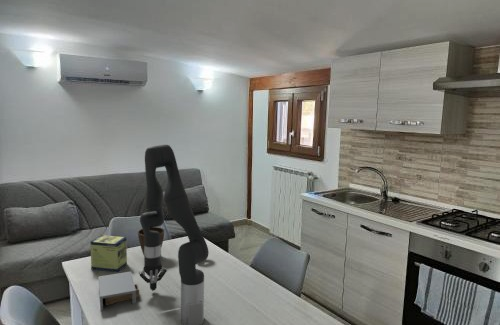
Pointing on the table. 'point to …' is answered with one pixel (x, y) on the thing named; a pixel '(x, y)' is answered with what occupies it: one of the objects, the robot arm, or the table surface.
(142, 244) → the plant pot
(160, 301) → the table surface
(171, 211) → the robot arm
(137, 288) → the tray
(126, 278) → the counter shelf
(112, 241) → the protein box
